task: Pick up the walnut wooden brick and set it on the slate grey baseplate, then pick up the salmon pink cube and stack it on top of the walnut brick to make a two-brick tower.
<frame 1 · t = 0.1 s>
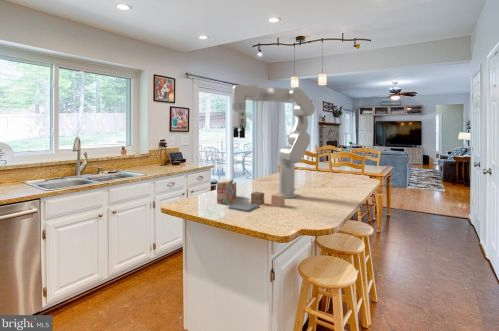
hand: (238, 137, 179), 37 cm above the countertop, tool pointing down, fingers open, 9 cm apart
salmon pink cube: (278, 205, 173), on the countertop
stack of blocks: (227, 199, 187), on the countertop
baseplate: (243, 207, 167), on the countertop
walnut brick: (257, 203, 178), on the countertop
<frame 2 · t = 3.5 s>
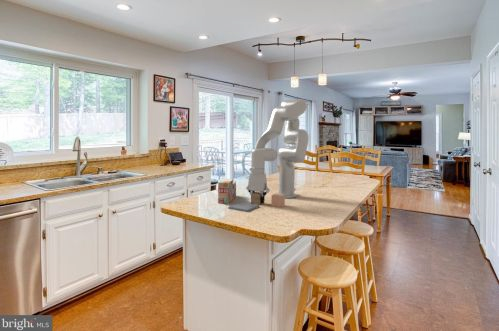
hand: (257, 201, 178), 1 cm above the countertop, tool pointing down, fingers closed on walnut brick, 5 cm apart
walnut brick: (257, 203, 178), on the countertop, touching gripper
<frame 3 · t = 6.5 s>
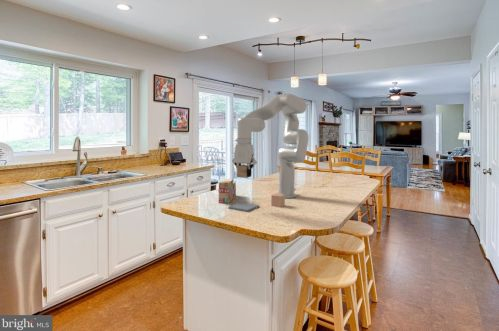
hand: (244, 175, 165), 18 cm above the countertop, tool pointing down, fingers closed on walnut brick, 5 cm apart
walnut brick: (244, 176, 165), point 17 cm above the countertop, touching gripper
when the fingers open (3 cm above the countertop, at t = 9.6 s): walnut brick drops 1 cm, resting on baseplate.
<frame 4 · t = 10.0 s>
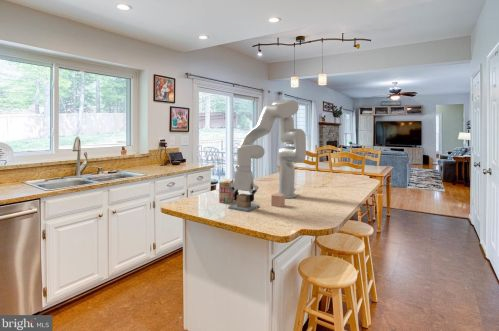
hand: (243, 200, 167), 4 cm above the countertop, tool pointing down, fingers open, 9 cm apart
walnut brick: (243, 205, 167), point 1 cm above the countertop, touching baseplate
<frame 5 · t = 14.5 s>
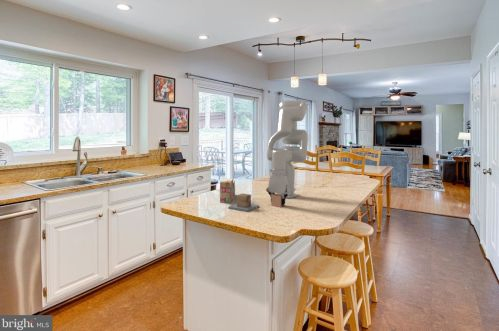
hand: (278, 204, 173), 1 cm above the countertop, tool pointing down, fingers closed on salmon pink cube, 5 cm apart
salmon pink cube: (277, 205, 173), on the countertop, touching gripper
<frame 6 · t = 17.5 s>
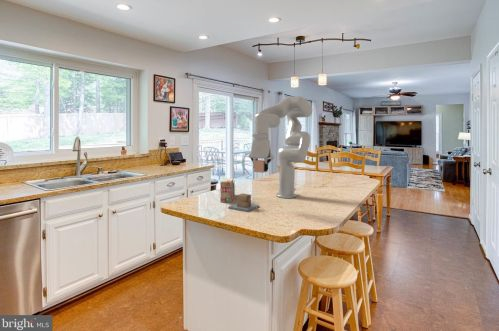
hand: (260, 170, 167), 20 cm above the countertop, tool pointing down, fingers closed on salmon pink cube, 5 cm apart
salmon pink cube: (260, 171, 167), point 19 cm above the countertop, touching gripper
when the fingers open (9 cm above the countertop, at t = 20.5 s): salmon pink cube drops 1 cm, resting on walnut brick.
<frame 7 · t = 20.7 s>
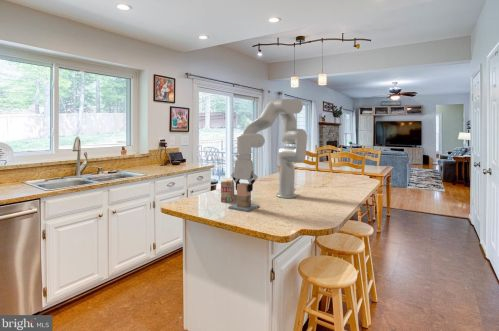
hand: (244, 190, 166), 9 cm above the countertop, tool pointing down, fingers open, 7 cm apart
salmon pink cube: (243, 194, 167), point 7 cm above the countertop, touching walnut brick
walnut brick: (243, 205, 167), point 1 cm above the countertop, touching baseplate, salmon pink cube
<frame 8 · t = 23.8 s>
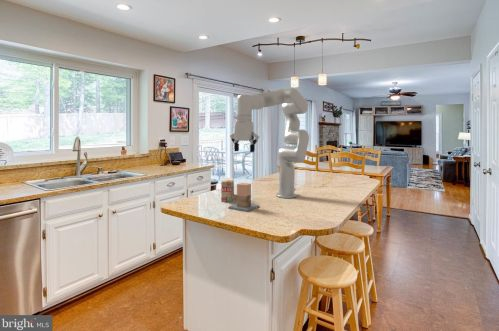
hand: (244, 151, 164), 30 cm above the countertop, tool pointing down, fingers open, 9 cm apart
at the end: walnut brick 0.0 cm off-centre on the baseplate, point 1.0 cm above the baseplate's base; salmon pink cube 0.0 cm off-centre on the walnut brick, point 6.0 cm above the walnut brick's base; salmon pink cube tilted 0° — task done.
